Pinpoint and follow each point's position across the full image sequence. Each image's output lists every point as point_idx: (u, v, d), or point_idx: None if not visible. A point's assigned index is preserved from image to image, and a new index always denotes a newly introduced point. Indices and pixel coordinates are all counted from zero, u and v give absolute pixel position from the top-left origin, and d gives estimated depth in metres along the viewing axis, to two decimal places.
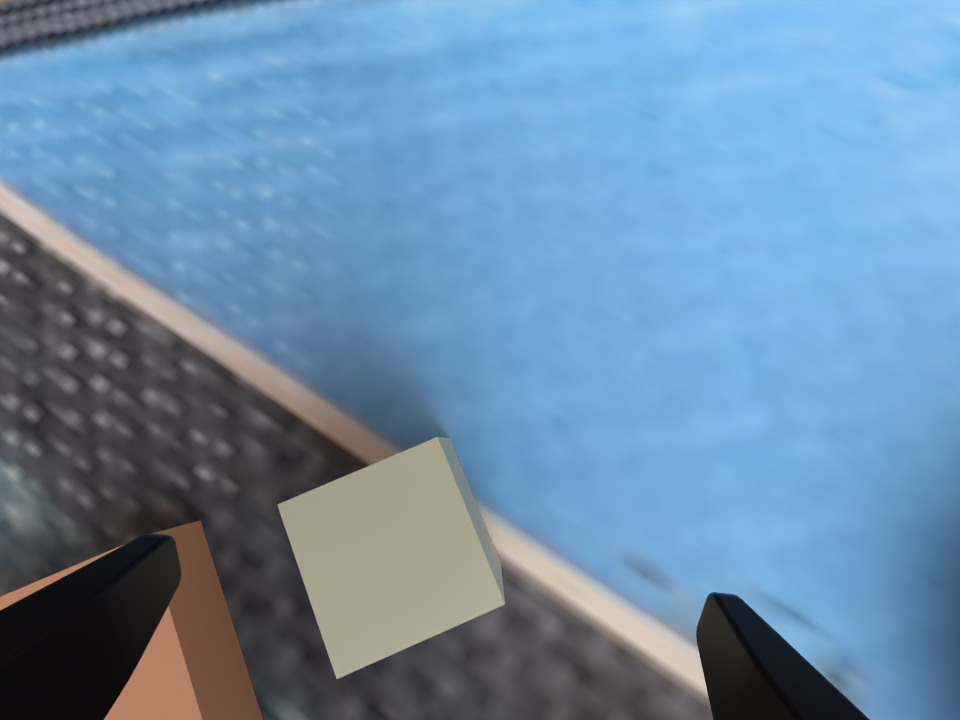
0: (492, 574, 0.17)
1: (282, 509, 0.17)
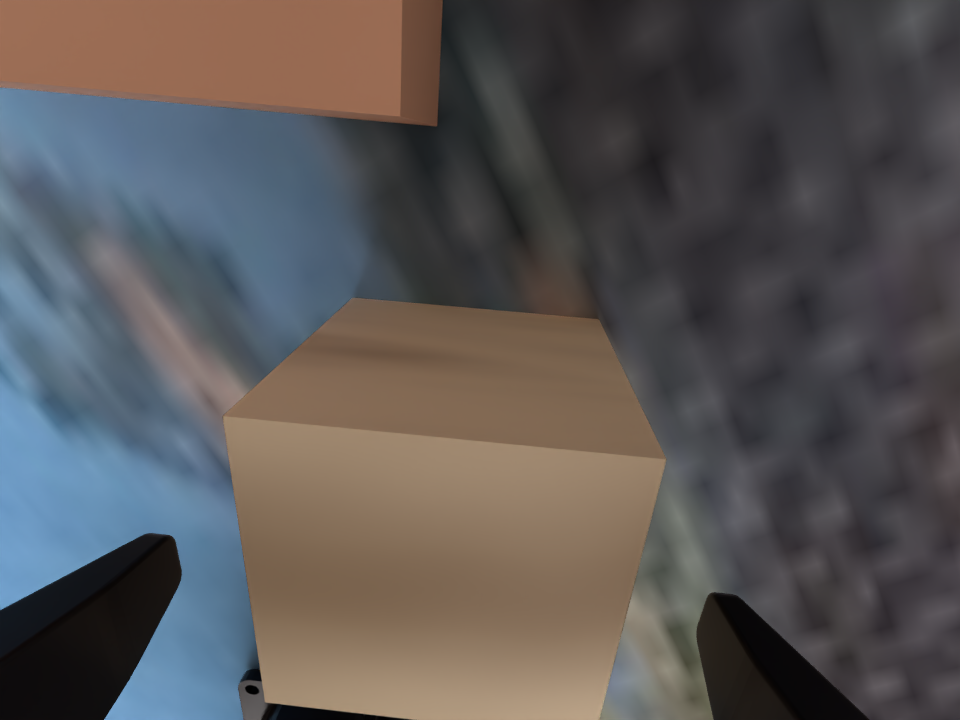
0: None
1: None
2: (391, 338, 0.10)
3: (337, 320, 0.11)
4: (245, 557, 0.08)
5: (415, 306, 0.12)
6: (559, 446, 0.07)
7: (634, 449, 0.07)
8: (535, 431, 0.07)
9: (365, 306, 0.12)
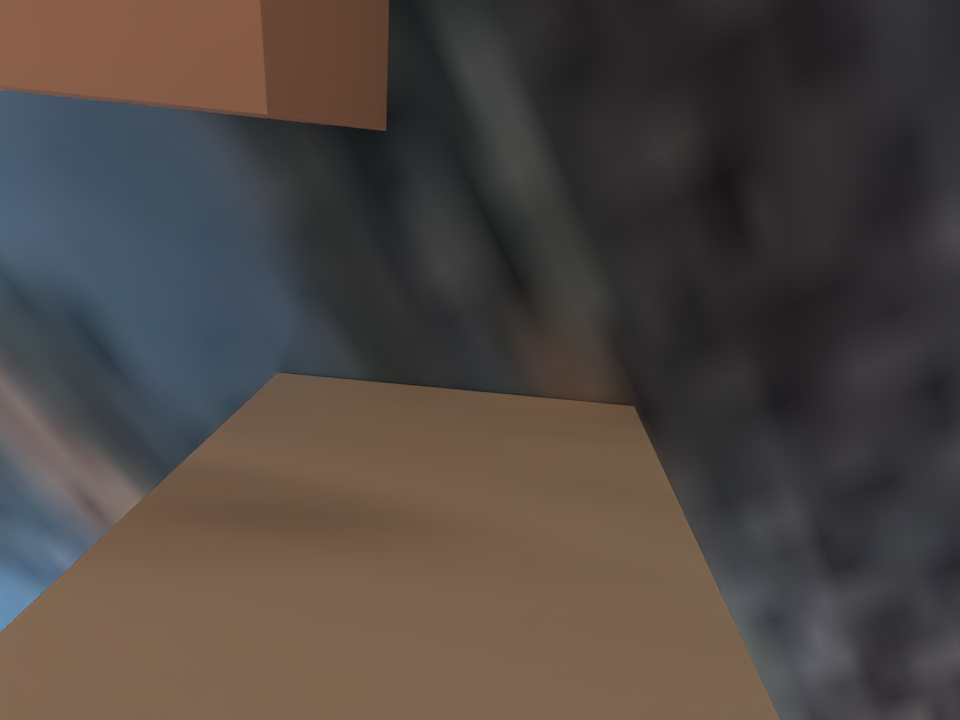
0: None
1: None
2: (309, 470, 0.06)
3: (233, 428, 0.07)
4: None
5: (365, 390, 0.08)
6: None
7: None
8: None
9: (289, 393, 0.08)
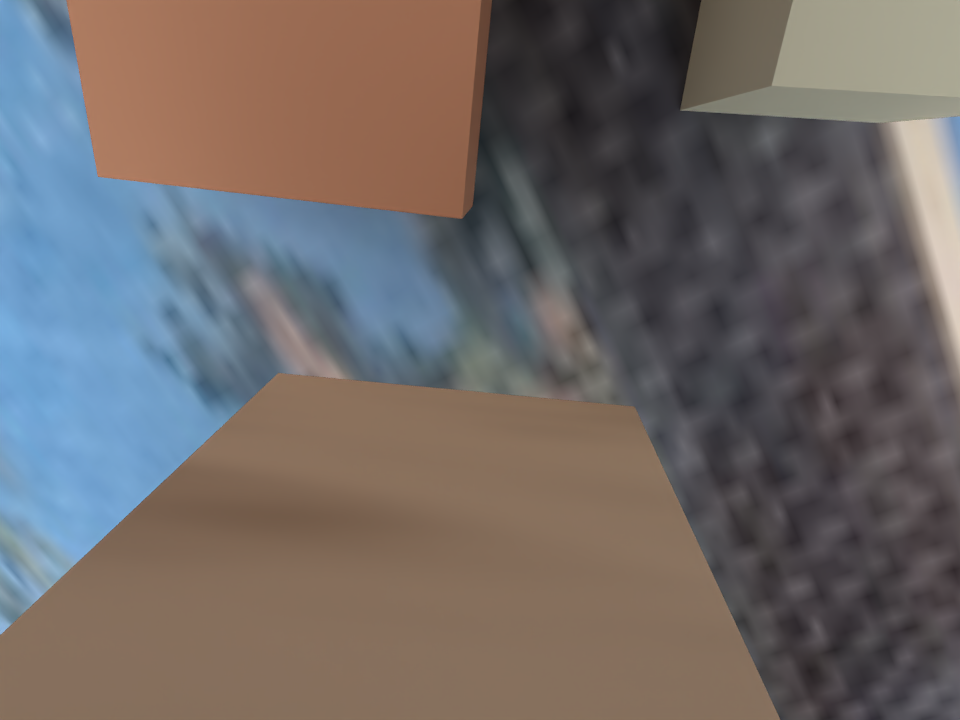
0: None
1: None
2: (310, 471, 0.06)
3: (234, 429, 0.07)
4: None
5: (365, 391, 0.08)
6: None
7: None
8: None
9: (290, 393, 0.08)
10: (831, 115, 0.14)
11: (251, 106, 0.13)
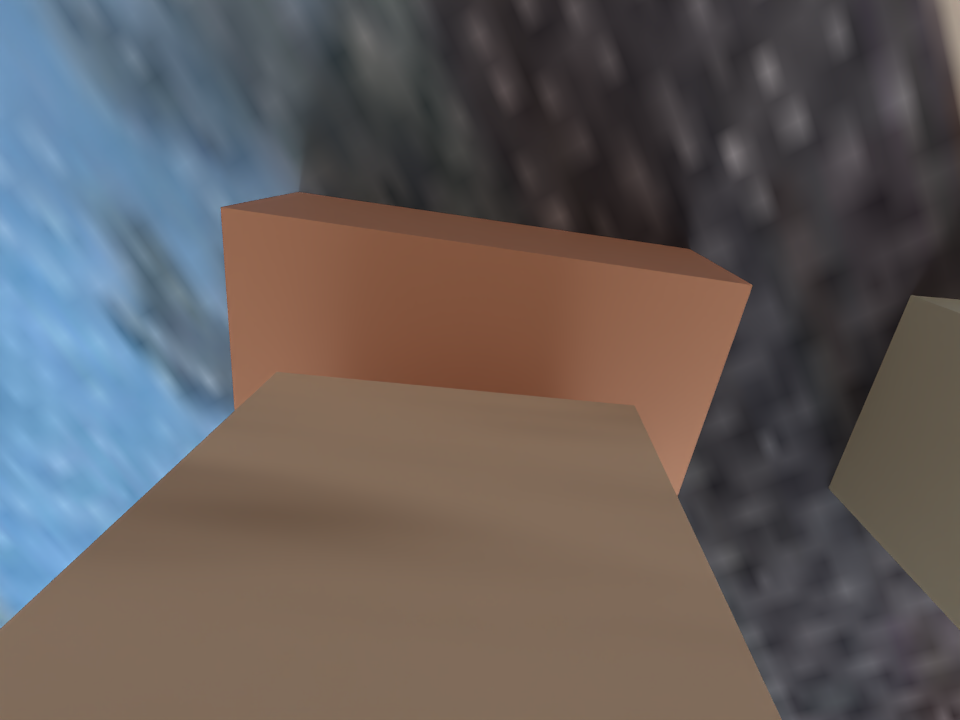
0: None
1: None
2: (308, 470, 0.06)
3: (232, 427, 0.07)
4: None
5: (364, 390, 0.08)
6: None
7: None
8: None
9: (288, 392, 0.08)
10: None
11: None
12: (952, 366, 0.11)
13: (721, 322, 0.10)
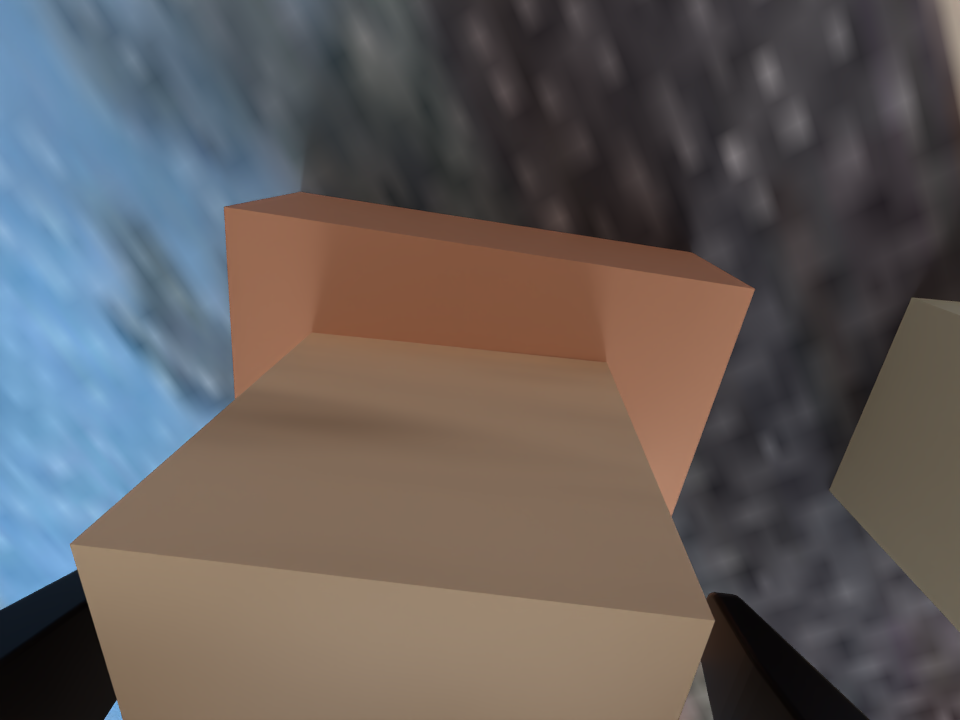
0: None
1: None
2: (345, 396, 0.08)
3: (282, 368, 0.09)
4: (125, 715, 0.06)
5: (385, 346, 0.10)
6: (557, 594, 0.05)
7: (666, 599, 0.05)
8: (522, 565, 0.05)
9: (323, 345, 0.10)
10: None
11: None
12: (954, 368, 0.11)
13: (723, 325, 0.10)
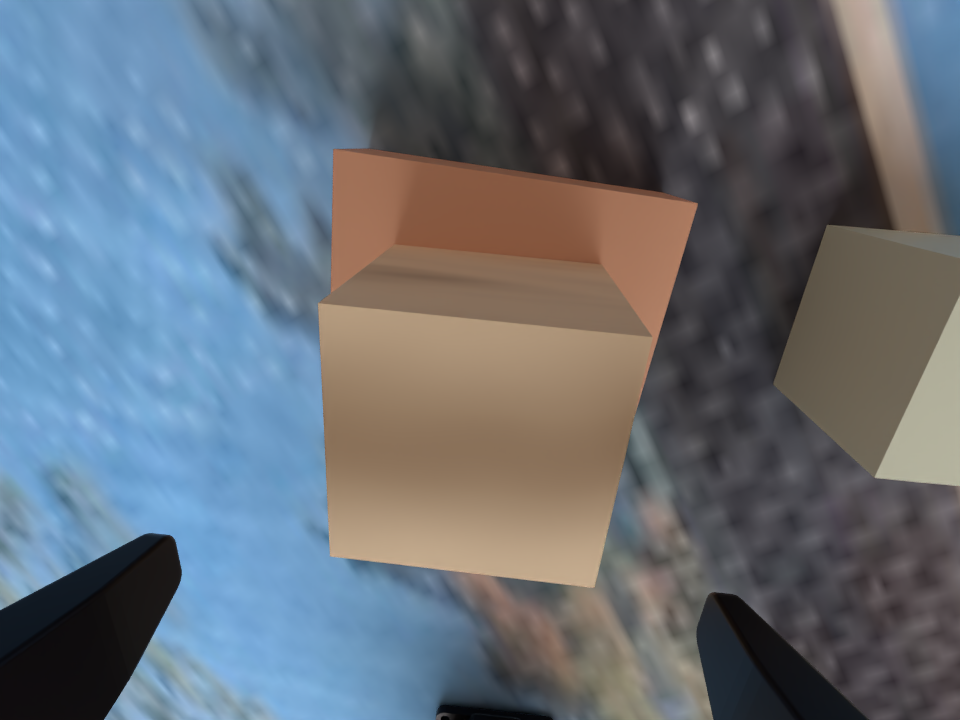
0: None
1: None
2: (432, 269, 0.12)
3: (385, 257, 0.13)
4: (324, 425, 0.10)
5: (447, 251, 0.14)
6: (572, 327, 0.09)
7: (629, 332, 0.09)
8: (553, 320, 0.09)
9: (405, 250, 0.14)
10: None
11: None
12: (850, 270, 0.16)
13: (677, 231, 0.14)
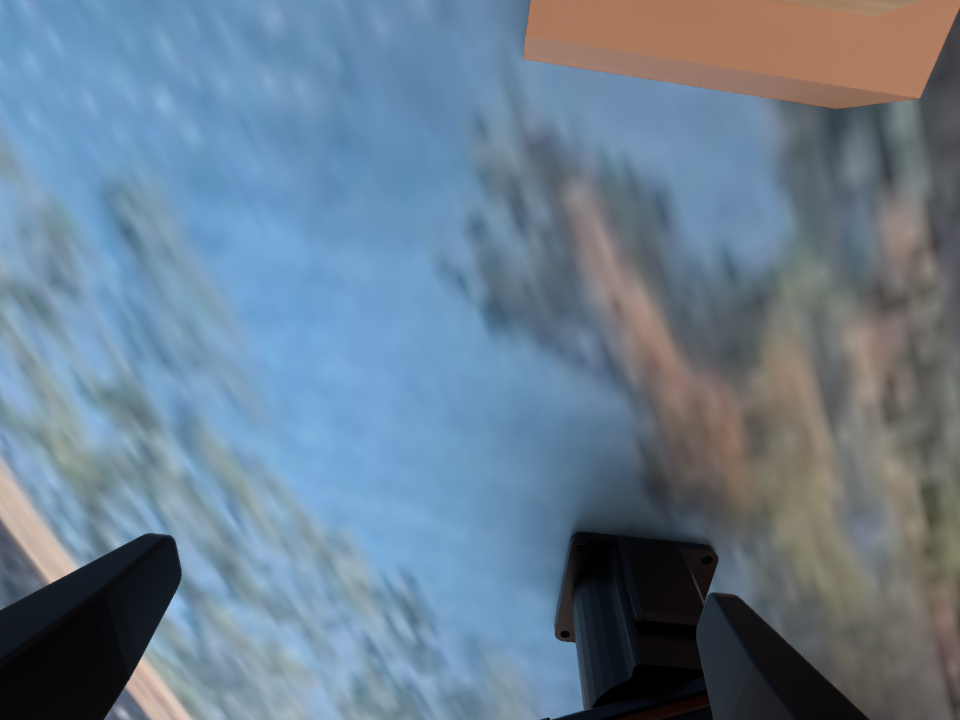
0: None
1: None
2: None
3: None
4: None
5: None
6: None
7: None
8: None
9: None
10: None
11: None
12: None
13: None
